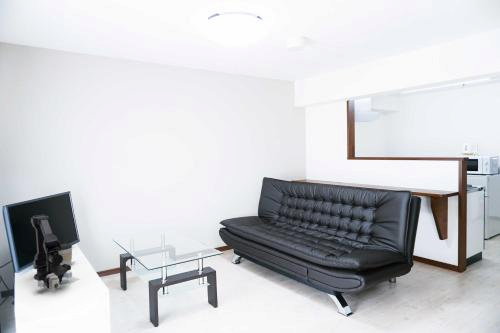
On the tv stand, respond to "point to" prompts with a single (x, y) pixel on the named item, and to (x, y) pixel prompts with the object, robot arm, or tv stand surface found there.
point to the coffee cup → (66, 253)
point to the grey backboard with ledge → (65, 281)
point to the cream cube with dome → (53, 282)
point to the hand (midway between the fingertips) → (54, 286)
